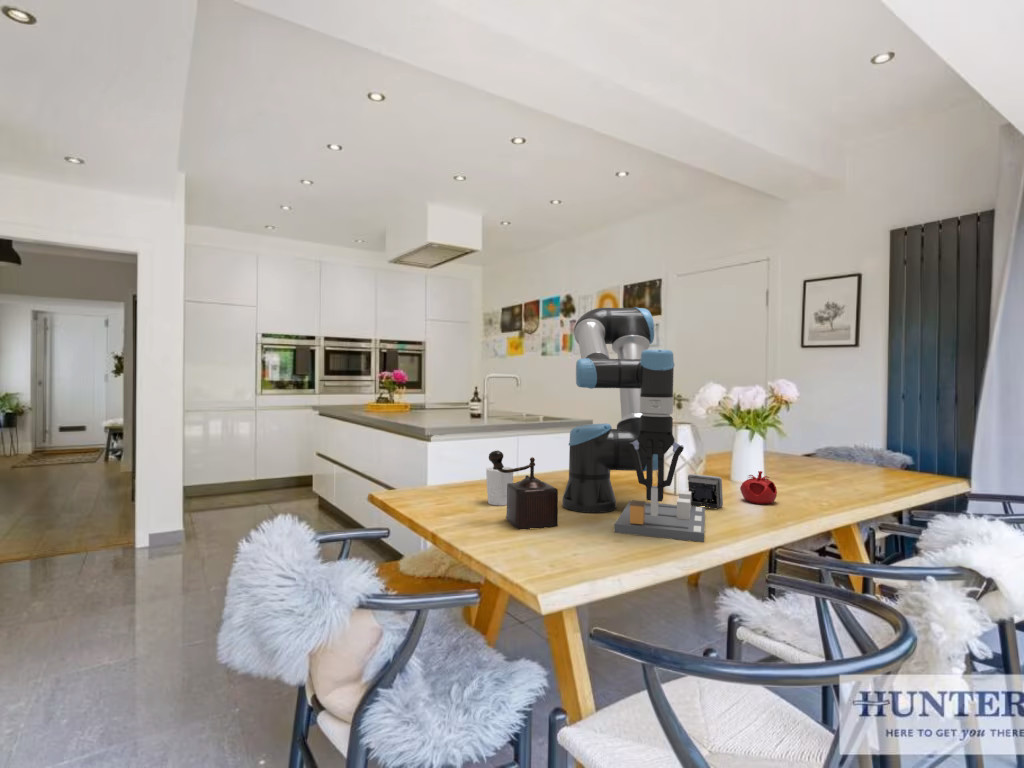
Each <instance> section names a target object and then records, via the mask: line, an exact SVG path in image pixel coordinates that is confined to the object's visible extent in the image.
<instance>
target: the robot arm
mask: <svg viewBox="0 0 1024 768" xmlns="http://www.w3.org/2000/svg"><path fill="white" fill-rule="evenodd" d="M573 336H574V337H573V338H574V340H575V341H576V343H577V344H578V347H579V353H580V358H579V359H577V360H576V363H575V384H576V386H577V387H578V388H585V389H586V388H587V389H619V400H620V402H619V403H620V416H621V419H620V421H618V422H617V424H616V428H612V425H611V424H610V423H593V424H592V423H590V424H584V425H578V426H576V427H573V428H572V429H571V430H570V432H569V442H568V446H569V456H568V457H569V459H568V480H567V482H566V486H565V488H564V492H563V496H562V500H561V501H562V507H563V508H565V509H566V510H569V511H575V512H581V513H607V512H612V511H614V510H616V508H617V498H616V495H615V492H614V489H613V485H612V482H611V471H627V472H628V471H630V472H631V471H632V472H635V473H636V476H637V481H638V483H639V484H640V485H643V486H645V490H646V492H645V493H646V494H645V495H646V496H645V498H646V501H650V503H651V516H657V515H658V503H659V502H663V501H664V489H665V487H670V486H671V485H672V481H673V479H674V475H675V472H676V467H677V464H678V460H679V456H680V455H681V454H682V452H683V451H684V448H685V447H684V445H682V444H680V443H678V442H676V439H675V437H674V435H673V428H674V427H673V419H674V418H673V416H671V415H672V414H673V413H674V373H675V372H674V371H675V370H674V368H675V362H674V359H675V358H674V352H673V350H670V349H649V348H650V345H651V344H653V342H654V339H655V323H654V318H653V316H652V313H651V312H650V310H649V309H648V308H645V307H644V308H643V307H636V306H635V307H598V308H597V307H596V308H594V309H591V310H589V311H587V312H585V313H584V314H582V316H580V317H579V318H578V319H577V320H576V322H575V325H574V328H573ZM607 345H611V349H612V351H613V352H614V353H615V354H617V355H616V356H617V358H610V355H609V351H608V348H607ZM671 447H672V452H673V455H672V458H671V462H670V466H669V469H668V473H667V476H666V479H665V455H666V454H667V452H668V451H669V450H670V448H671ZM654 471H657V485H653V476H654V475H653V473H654ZM644 472H646V478H645V473H644Z"/></svg>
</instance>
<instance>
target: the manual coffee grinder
mask: <svg viewBox="0 0 1024 768" xmlns="http://www.w3.org/2000/svg"><path fill="white" fill-rule="evenodd" d="M503 459H504V453H503V452H501V451H500V450H497V449H496V450H493V451H491V452H490V453H489V454H488V461H490V463H491V464H492V465H493V466H492V467H493V469H494V470H498V471H500V472H503V473H511V472H513V473H517V472H521V471H525V470H527V469H530V471H529V475H527V474H526V475H525V478H523V479H522V480H519V481H516V482H513V483H507V505H506V515H505V519H506V520H507V522H508V523H509V522H510V523H511V526H513V527H514V528H515V529H517V528H518V529H517V530H519V529H526V530H531V529H530V528H539V529H545V528H544V527H548V528H554V527H555V526H557V527H558V525H559V524H558V522H559V521H558V520H559V513H558V511H559V490H558V488H556V487H555V486H553V485H551V484H550V483H547V482H545V481H542V480H541V479H539V478H537V477H535V476H534V475H535V473H534V472H535V466H536V463H535V461H536V459H535V457H533V456H532V457H530V458H529V464H526V465H525V466H520V467H515V468H513V469H508V470H505V469H502V468H503V467H505V466H504V464H503ZM510 523H509V524H510ZM555 528H556V527H555Z"/></svg>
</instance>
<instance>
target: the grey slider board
mask: <svg viewBox="0 0 1024 768" xmlns="http://www.w3.org/2000/svg"><path fill="white" fill-rule="evenodd" d="M631 501H632V500H629V502H628V503H627V505H626V506H625V507H624V508H623V511H622V512H621V514H620V515H619V516H618V518H617V520H616V521H615V523H614V533H616V534H617V533H618V534H625V535H627V534H628V535H634V534H635V536H636V535H637V536H643V535H646V536H645V537H652V536H654V537H655V538H661V537H664V538H663V539H670V538H672V539H673V540H679V539H680V540H681V541H688V540H690V542H698V541H700V542H699V543H704V542H705V521H706V520H705V519H706V508H705V507H697V506H691V492H690V491H689V490H688V491H687V490H679V492H678V498H677V500H676V504H669V503H668V504H667V503H659V502H658V515H657V516H651V502H648V501H646V503H645V521H644V523H643V524H633V523H630V503H631Z"/></svg>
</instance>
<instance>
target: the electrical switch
mask: <svg viewBox="0 0 1024 768" xmlns="http://www.w3.org/2000/svg"><path fill="white" fill-rule="evenodd" d="M687 480H688V482H687V483H688V491H690V492H691V505H694V507H697V506H705V507H710V508H709V509H711V508H717V509H716V510H718V508H722V507H723V506H724V501H723V500H724V499H723V496H724V495H723V481H722V477H720V476H714V475H705V474H695V473H689V474H688V475H687ZM701 504H702V505H701ZM707 505H708V506H707Z"/></svg>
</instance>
